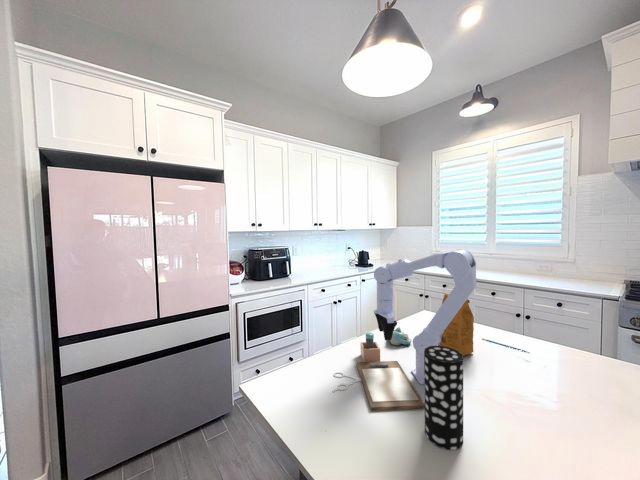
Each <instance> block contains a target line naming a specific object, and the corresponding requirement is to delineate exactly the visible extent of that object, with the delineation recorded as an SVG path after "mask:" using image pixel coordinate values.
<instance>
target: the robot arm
mask: <svg viewBox="0 0 640 480" xmlns="http://www.w3.org/2000/svg"><path fill="white" fill-rule="evenodd" d="M430 267H438V268H441V269H444V268H445V269H446V271H447V272H448V273H449V274H450V276H452V279H453V281H454V284H455V285H454V286H453V288H452V290H451V291H450V292H449V294H448V297H447V298H446V300H445V301H444V303H443V304H442V303H441V305H442V306H441V305H440V307H439V308H438V310H437V311H436V313H435V314H434V316H433V317H432V318H431V320H430V321H429V323H428V324H427V325H426V327H424V328H423V329H422V330H421V331H420V332H419V334H417V335H416V336H414V338H413V339H412V346H413V348H414V350H415V369H411V373H412V374H413V376H414V377H415V379H416V380H417V381H418V384H420V385H424V350H425V348H427V347H429V346H438V344H439V343H440V342H441V336H442V334H443V332H444V330H445V329H446V327H447V326H448V325H449V323H450V322H451V321H452V319H453V318H454V316H455V315H456V314H457V312H458V311H459V310H460V308H461V307H462V305H463V304H464V303H465V301H466V300H467V299H468V300H469V297H470V296H471V295H472V293H473V292H474V290H475V289H476V287H477V262H476V260H475V258H474V256H473V253H471V252H470V251H469V250H466V249H464V248H463V249H462V248H461V249H460V248H459V249H457V250H455V251H454V250H450V251H443V252H439V253H438V252H437V253H434V254H432V255H428V256H425V257H422V258H419V259H416V260H412V261H411V260H408V259H403V258H399V259H398V260H397V262H392V263H391V262H389V263H386V265H383V266H382V265H381V266H378V267H377V268H375V270H374V271H373V277H374V280H375V281H376V309H373V314H374V316H375V318H376V322H377V325H378V326H377V327H378V331H379V332H383V337H384V340H385V341H390V340H391V339H392V335H393V331H394V330H395V329H396V328H397V327H396V326H397V325H398V321H397V320H394V319H395V318H394V312H395V311H394V280H399V279H403V278H406V277H407V278H408V277H410V276H411V277H412V275H413V274H414V272H415V271H418V270H422V269H427V268H430Z"/></svg>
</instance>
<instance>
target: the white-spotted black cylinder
mask: <svg viewBox="0 0 640 480" xmlns="http://www.w3.org/2000/svg"><path fill="white" fill-rule="evenodd" d="M423 385H424V404H425V409H424V433H425V436H426V438H427V439H428V440H429V441H430V442H431V443H432V444H434V445H435V446H436V447H438V448H441V449H444V450H448V451H454V450H458V449H460V448H462V447H463V444H464V356H463V355H462V354H461V353H460V352H459V351H457V350H455V349H452V348H449V347H445V346H429V347H427V348H425V350H424V384H423Z"/></svg>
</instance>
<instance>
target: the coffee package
mask: <svg viewBox="0 0 640 480" xmlns="http://www.w3.org/2000/svg"><path fill="white" fill-rule="evenodd" d="M448 295H449V294H448V293H444V295H443V299H442V302H441V305H440V307H441V306H442V304H443V303H444V301H445V300H446V298H447V297H448ZM469 303H470V300H469V298H468V299H467V300H466V301H465V303H464V304H463V305H462V307H461V308H460V310H459V311H458V312H457V314H456V315H455V316H454V318H453V319H452V321H451V322H450V323H449V325H448V326H447V327H446V329H445V330H444V332H443V334H442V336H441V342H440V343H439V344H438V346H445V347H449V348H452V349H455V350H457V351H459V352H460V353H461V354H462V355H463V357H465V356H467V355H470V354H472V353H474V330H475V329H474V322H475V317H474V315H473V312H472V310H471V307H470V305H469Z"/></svg>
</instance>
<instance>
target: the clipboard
mask: <svg viewBox="0 0 640 480" xmlns="http://www.w3.org/2000/svg"><path fill="white" fill-rule="evenodd" d="M356 368H357V370H358V374H359V378H361V380H362V381H361V382H362V385H363V389H364V392H365V395H366V399H367V403H368V406H369V408H370V411H371V412H374V411H375V412H376V411H377V412H378V411H380V412H381V411H397V410H399V411H400V410H402V411H403V410H416V409H417V410H421V409H422V410H423V409H424V410H425V401H424V400H423V399H422V398H421V395H419V393H418V391H417V390H416V388H415V386H414V384H413V383H412V382H411V380H410V378H409V376H408V375H407V374H406V372H405V371H404V369H403V368H402V366H401V364H400V363H399V360H389V361H386V360H385V361H384V360H383V361H381V360H380V362H363V361H360V362H357V361H356Z"/></svg>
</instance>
